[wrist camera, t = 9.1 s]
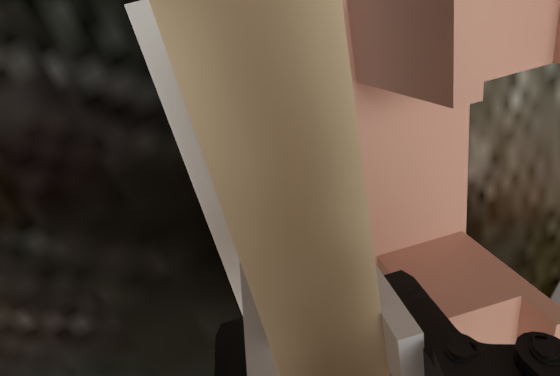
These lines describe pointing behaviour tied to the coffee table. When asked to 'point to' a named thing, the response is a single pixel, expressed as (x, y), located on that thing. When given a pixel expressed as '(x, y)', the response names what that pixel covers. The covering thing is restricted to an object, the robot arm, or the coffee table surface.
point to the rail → (285, 170)
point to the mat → (184, 135)
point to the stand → (442, 146)
